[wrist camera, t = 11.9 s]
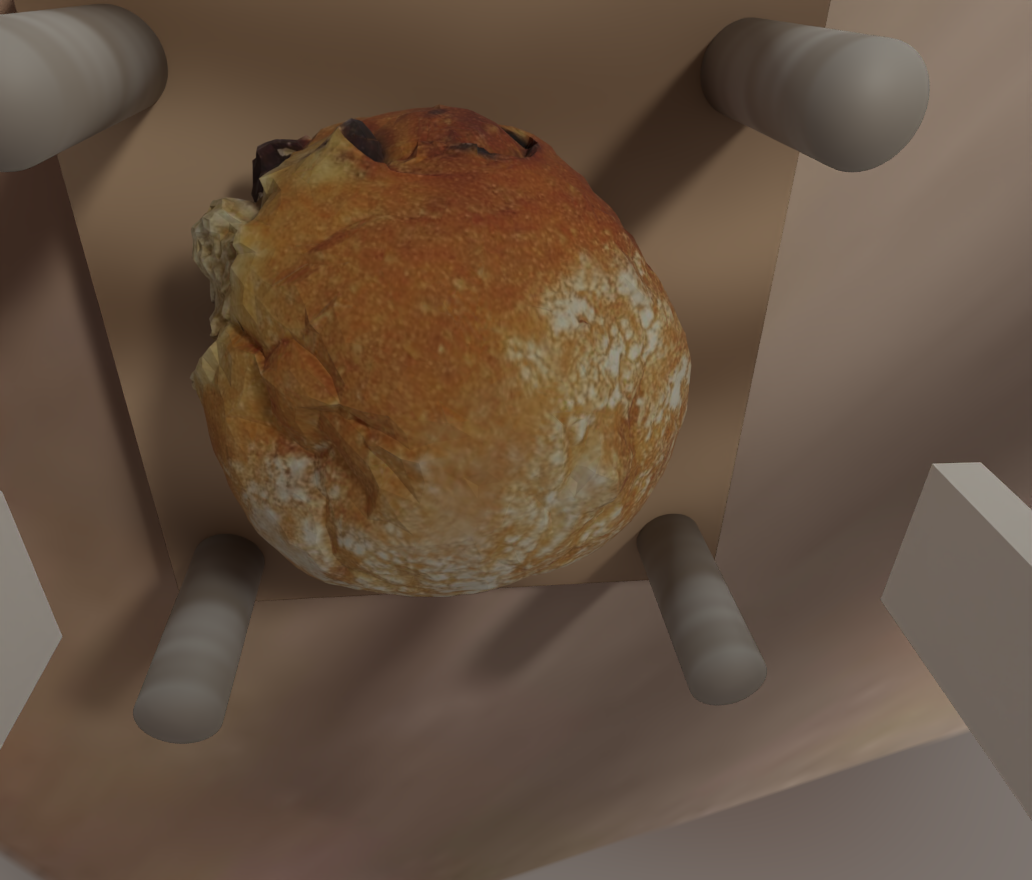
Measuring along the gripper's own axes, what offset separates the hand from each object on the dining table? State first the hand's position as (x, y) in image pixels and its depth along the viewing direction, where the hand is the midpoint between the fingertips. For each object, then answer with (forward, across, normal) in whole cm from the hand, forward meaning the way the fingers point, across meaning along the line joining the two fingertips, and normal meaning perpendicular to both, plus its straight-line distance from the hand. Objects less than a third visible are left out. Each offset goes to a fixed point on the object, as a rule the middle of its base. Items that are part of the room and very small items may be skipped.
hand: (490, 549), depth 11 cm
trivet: (+9, 0, 0) cm, 9 cm away
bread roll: (+8, -1, 0) cm, 8 cm away
